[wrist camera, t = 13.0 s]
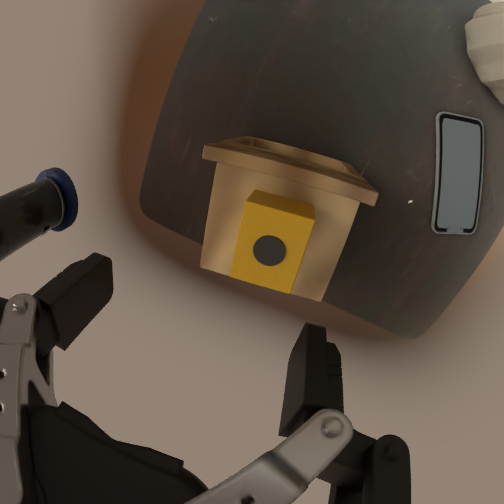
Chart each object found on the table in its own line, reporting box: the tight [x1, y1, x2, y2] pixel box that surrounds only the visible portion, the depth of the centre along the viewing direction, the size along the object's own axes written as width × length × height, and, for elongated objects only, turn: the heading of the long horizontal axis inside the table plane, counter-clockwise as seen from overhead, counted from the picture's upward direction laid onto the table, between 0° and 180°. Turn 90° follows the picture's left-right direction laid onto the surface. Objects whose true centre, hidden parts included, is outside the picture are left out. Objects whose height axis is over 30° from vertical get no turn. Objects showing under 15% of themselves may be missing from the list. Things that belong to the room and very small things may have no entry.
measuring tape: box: [229, 189, 315, 294], centre depth 22 cm, size 5×7×4 cm
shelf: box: [200, 135, 379, 301], centre depth 26 cm, size 12×12×14 cm
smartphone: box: [431, 112, 484, 234], centre depth 26 cm, size 7×1×15 cm
